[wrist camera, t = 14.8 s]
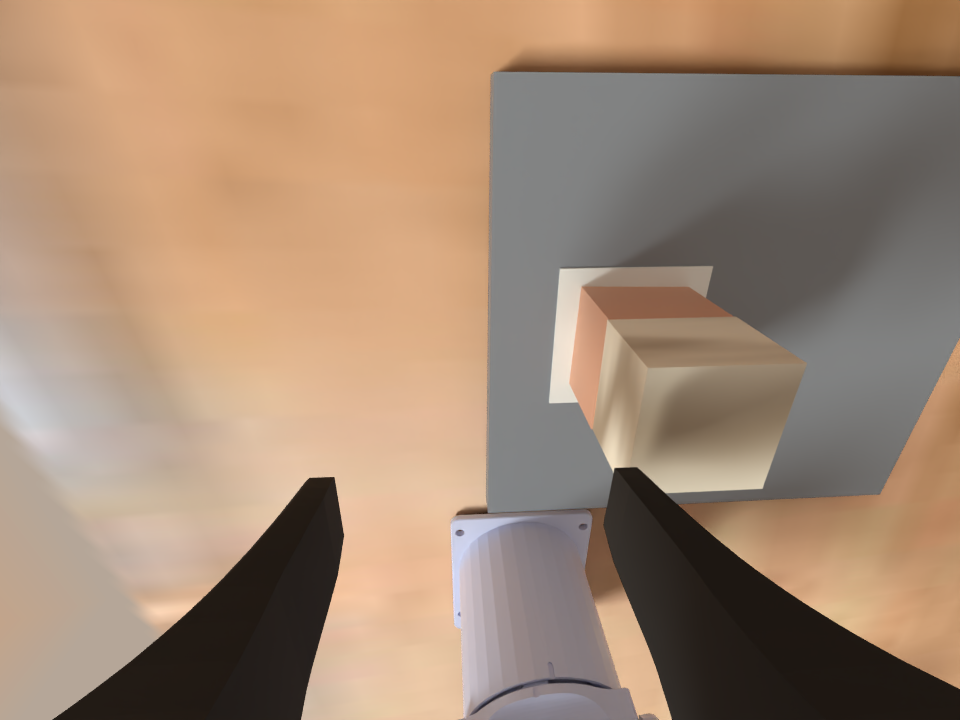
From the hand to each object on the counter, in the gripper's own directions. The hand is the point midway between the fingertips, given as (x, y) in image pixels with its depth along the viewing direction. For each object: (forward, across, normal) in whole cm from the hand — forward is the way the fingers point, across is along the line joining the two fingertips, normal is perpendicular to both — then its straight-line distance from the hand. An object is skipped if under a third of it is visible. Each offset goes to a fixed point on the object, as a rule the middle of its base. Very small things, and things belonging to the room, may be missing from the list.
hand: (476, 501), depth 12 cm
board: (+10, -12, 0) cm, 16 cm away
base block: (+9, -7, 0) cm, 12 cm away
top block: (+6, -7, 0) cm, 9 cm away
